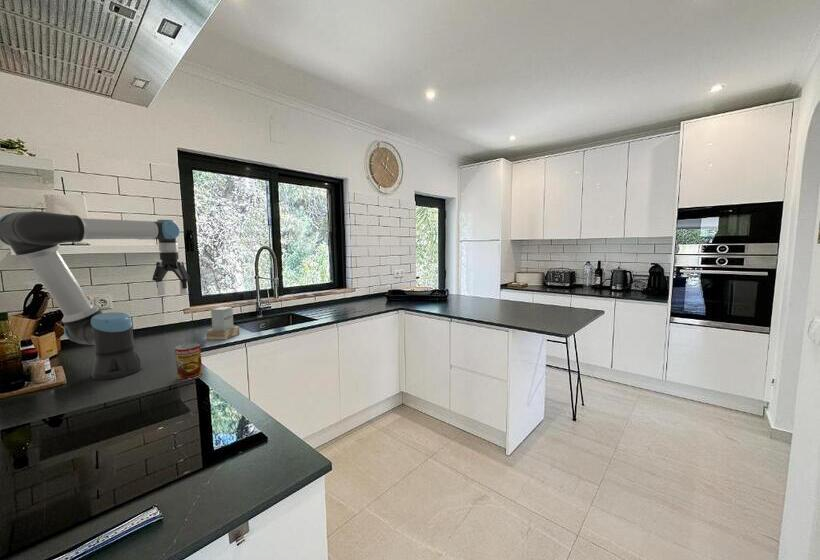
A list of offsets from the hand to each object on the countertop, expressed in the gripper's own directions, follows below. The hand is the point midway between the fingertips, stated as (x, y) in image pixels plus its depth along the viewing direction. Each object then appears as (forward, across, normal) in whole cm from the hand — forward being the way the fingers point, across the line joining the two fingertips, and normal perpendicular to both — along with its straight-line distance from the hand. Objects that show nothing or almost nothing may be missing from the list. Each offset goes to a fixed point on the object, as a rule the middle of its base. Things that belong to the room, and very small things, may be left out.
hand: (172, 295), depth 169 cm
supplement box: (+22, -14, -16) cm, 30 cm away
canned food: (+26, -42, +32) cm, 59 cm away
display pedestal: (+25, -13, -16) cm, 32 cm away
